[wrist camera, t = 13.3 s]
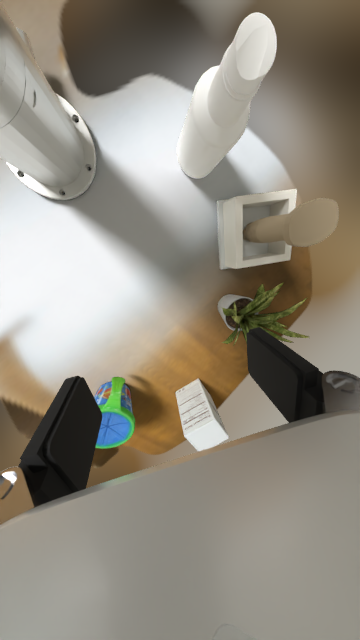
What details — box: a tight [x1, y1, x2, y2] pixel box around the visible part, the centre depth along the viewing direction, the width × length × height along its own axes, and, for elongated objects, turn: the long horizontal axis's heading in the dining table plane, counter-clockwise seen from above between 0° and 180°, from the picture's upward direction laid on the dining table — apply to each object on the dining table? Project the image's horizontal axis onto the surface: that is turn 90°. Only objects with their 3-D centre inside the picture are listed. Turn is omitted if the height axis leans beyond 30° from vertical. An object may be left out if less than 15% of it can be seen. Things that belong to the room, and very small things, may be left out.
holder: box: [216, 189, 297, 270], centre depth 34 cm, size 12×12×6 cm
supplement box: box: [175, 379, 229, 452], centre depth 43 cm, size 7×7×13 cm
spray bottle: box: [177, 12, 277, 179], centre depth 22 cm, size 7×7×18 cm
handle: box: [243, 198, 339, 247], centre depth 29 cm, size 5×6×15 cm
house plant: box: [218, 283, 308, 346], centre depth 35 cm, size 14×14×16 cm
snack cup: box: [94, 377, 135, 448], centre depth 40 cm, size 16×10×10 cm
